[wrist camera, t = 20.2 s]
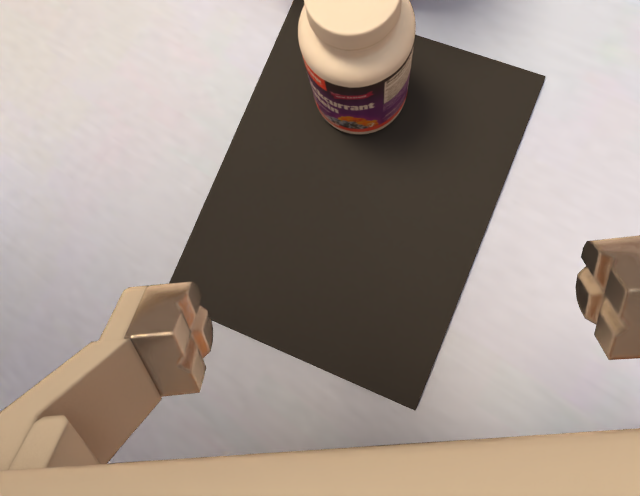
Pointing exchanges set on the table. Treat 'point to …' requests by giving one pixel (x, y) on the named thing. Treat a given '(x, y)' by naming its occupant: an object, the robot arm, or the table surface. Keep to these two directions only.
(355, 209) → the rubber mat
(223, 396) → the table surface
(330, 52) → the pill bottle
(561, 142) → the table surface
